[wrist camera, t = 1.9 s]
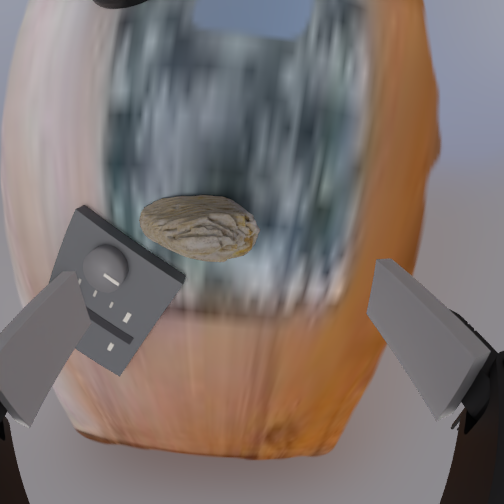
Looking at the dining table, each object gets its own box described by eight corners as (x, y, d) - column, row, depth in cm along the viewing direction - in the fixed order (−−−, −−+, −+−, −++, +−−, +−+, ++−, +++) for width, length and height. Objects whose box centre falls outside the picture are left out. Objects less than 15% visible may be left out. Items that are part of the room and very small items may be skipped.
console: (45, 314, 39) (32, 329, 35) (84, 205, 33) (66, 214, 29) (123, 367, 44) (115, 386, 40) (185, 275, 38) (179, 293, 33)
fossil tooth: (148, 193, 35) (261, 195, 35) (150, 238, 37) (259, 243, 37) (105, 209, 24) (261, 211, 24) (111, 270, 26) (258, 279, 26)
